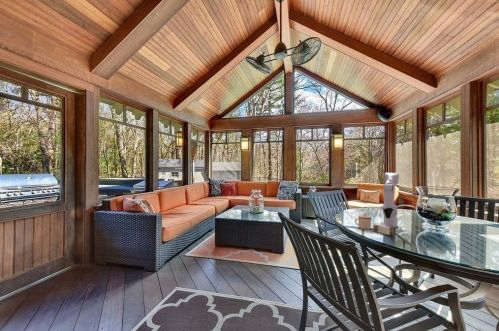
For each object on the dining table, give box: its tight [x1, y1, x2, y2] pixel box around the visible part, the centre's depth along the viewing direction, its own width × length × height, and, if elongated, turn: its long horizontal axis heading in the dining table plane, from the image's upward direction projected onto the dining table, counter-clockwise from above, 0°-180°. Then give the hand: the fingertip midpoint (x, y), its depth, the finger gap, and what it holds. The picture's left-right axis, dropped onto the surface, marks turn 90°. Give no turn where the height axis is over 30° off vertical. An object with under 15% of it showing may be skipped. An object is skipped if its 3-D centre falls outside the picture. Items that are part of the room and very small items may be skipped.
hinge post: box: [389, 226, 395, 237], centre depth 167 cm, size 2×2×7 cm
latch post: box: [372, 224, 379, 233], centre depth 177 cm, size 2×2×5 cm, turn 26°
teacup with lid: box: [354, 212, 372, 230], centre depth 186 cm, size 12×9×12 cm
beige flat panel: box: [373, 223, 390, 235], centre depth 174 cm, size 12×1×5 cm, turn 27°
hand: (387, 218), depth 177 cm, fingers closed
